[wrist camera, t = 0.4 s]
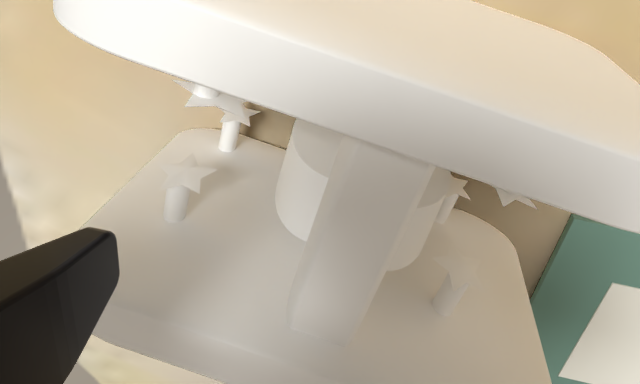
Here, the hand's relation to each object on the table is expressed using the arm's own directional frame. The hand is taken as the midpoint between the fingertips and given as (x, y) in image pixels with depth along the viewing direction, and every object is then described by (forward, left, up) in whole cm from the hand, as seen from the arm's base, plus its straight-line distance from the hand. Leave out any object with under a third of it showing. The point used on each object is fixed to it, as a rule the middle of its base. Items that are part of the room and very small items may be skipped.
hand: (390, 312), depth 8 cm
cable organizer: (-2, +1, -15) cm, 15 cm away
